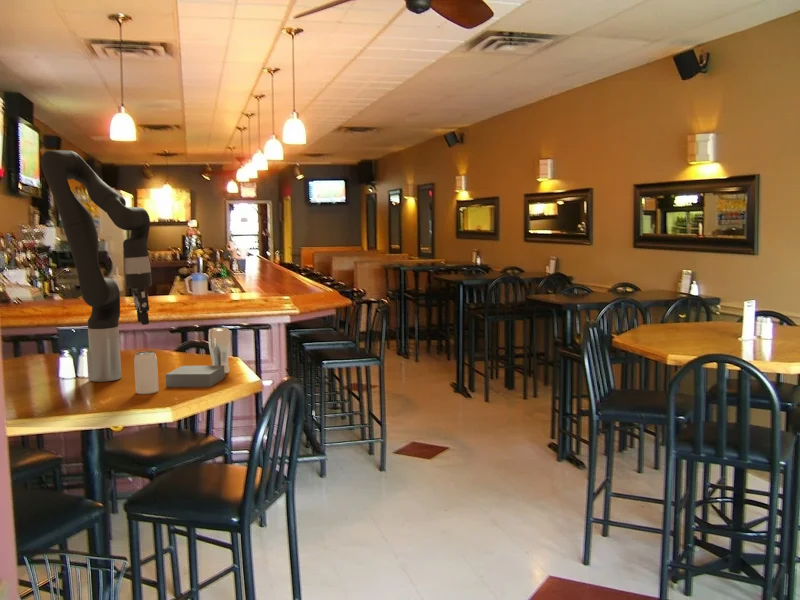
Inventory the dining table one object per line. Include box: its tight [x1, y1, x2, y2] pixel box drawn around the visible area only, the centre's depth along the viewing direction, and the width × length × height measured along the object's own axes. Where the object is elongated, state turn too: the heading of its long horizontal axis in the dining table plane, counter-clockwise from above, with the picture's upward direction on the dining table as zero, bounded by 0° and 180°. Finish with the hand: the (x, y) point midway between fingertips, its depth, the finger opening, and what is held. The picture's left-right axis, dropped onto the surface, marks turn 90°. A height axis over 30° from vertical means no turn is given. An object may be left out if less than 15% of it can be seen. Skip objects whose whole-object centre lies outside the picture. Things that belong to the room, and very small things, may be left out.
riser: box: [165, 365, 226, 388], centre depth 225 cm, size 14×14×4 cm
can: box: [133, 350, 159, 395], centre depth 212 cm, size 6×6×12 cm
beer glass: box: [208, 327, 231, 375], centre depth 239 cm, size 7×7×15 cm
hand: (143, 323), depth 222 cm, fingers open, 8 cm apart
